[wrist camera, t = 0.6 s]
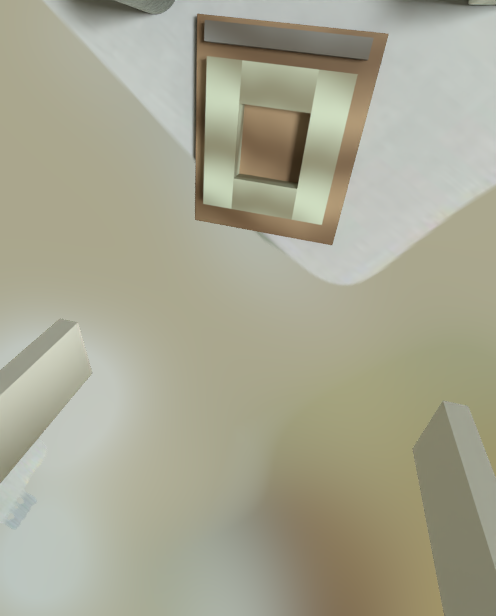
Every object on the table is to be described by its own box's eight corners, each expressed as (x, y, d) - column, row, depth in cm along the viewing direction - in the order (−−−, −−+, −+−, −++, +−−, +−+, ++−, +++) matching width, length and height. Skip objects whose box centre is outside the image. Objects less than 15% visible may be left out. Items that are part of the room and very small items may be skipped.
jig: (201, 15, 26) (187, 8, 23) (387, 35, 24) (392, 30, 22) (198, 216, 35) (187, 226, 33) (332, 241, 33) (331, 253, 31)
